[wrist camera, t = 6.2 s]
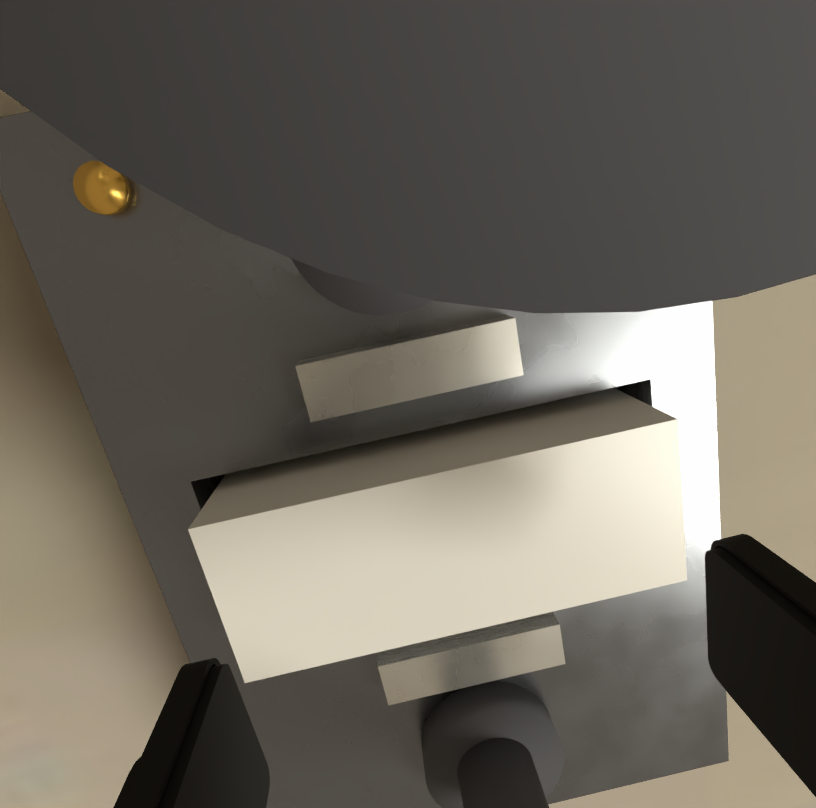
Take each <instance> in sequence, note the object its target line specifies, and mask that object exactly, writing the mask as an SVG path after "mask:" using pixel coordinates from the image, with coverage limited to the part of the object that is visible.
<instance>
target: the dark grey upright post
mask: <svg viewBox="0 0 816 808" xmlns="http://www.w3.org/2000/svg"><path fill="white" fill-rule="evenodd" d="M0 89H1V90H3V91H4V92H5V93H7V94H8V95H9V96H11V97H12V98H14V99H15V100H16V101H18V102H19V103H21V104H22V105H23V106H25V107H26V108H28V109H29V110H30V111H32V112H33V113H34V114H36V115H37V116H39V117H40V118H41V119H43V120H44V121H46V122H47V123H48V124H50V125H51V126H52V127H54V128H55V129H57V130H58V131H59V132H61V133H62V134H64V135H65V136H66V137H68V138H69V139H71V140H72V141H73V142H75V143H76V144H77V145H79V146H80V147H82V148H83V149H84V150H86V151H87V152H89V153H90V154H91V155H93V156H94V157H95V158H97V159H98V160H100V161H101V162H102V163H104V164H105V165H107V166H108V167H110V168H112V169H114V170H115V171H117V172H119V173H121V174H123V175H124V176H126V177H128V178H130V179H132V180H133V181H135V182H137V183H139V184H140V185H142V186H144V187H146V188H148V189H149V190H151V191H153V192H155V193H157V194H158V195H160V196H162V197H164V198H166V199H167V200H169V201H171V202H173V203H174V204H176V205H178V206H180V207H182V208H183V209H185V210H187V211H189V212H191V213H192V214H194V215H196V216H198V217H200V218H201V219H203V220H205V221H207V222H208V223H210V224H212V225H214V226H216V227H217V228H219V229H221V230H224V231H226V232H229V233H231V234H234V235H236V236H239V237H241V238H243V239H246V240H248V241H251V242H253V243H256V244H258V245H261V246H263V247H266V248H268V249H271V250H273V251H275V252H278V253H280V254H283V255H285V256H288V257H290V258H291V259H292V261H293V263H294V264H295V266H296V268H297V269H298V271H299V272H300V274H301V275H302V276H303V277H304V279H305V280H306V281H307V282H308V283H309V284H310V285H311V286H312V287H313V288H314V289H315V290H316V291H317V292H318V293H320V294H321V295H322V296H324V297H325V298H326V299H328V300H329V301H331V302H333V303H335V304H336V305H338V306H340V307H343V308H345V309H348V310H350V311H354V312H357V313H361V314H367V315H376V316H377V315H394V314H401V313H404V312H408V311H411V310H414V309H416V308H418V307H421V306H423V305H425V304H427V303H428V302H430V301H432V300H433V301H439V302H447V303H455V304H464V305H472V306H480V307H488V308H496V309H505V310H513V311H521V312H529V313H602V312H641V311H647V310H654V309H661V308H667V307H674V306H680V305H687V304H694V303H700V302H707V301H713V300H720V299H727V298H733V297H738V296H742V295H745V294H749V293H752V292H756V291H759V290H763V289H766V288H770V287H773V286H777V285H780V284H783V283H787V282H790V281H794V280H797V279H801V278H804V277H808V276H811V275H815V274H816V0H0Z"/></svg>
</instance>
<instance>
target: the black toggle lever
mask: <svg viewBox="0 0 816 808" xmlns="http://www.w3.org/2000/svg"><path fill="white" fill-rule="evenodd" d="M421 746H422V754H423V763H424V772H425V779H426V785H427V788H428V791H429V793H430V794H431V796H432V798H433V799H434V800H435V801H436V803H437V804H438V805H440V806H441V807H442V808H549V806H548V803H547V800H546V796H547V795H548V794H549V793H550V792H551V791H552V789H553V788H554V787H555V785H556V784H557V782H558V780H559V778H560V776H561V773H562V770H563V766H564V751H563V747H562V744H561V741H560V739H559V736H558V734H557V731H556V729H555V726H554V724H553V722H552V719H551V717H550V714H549V712H548V710H547V708H546V706H545V705H544V703H543V702H542V701H541V700H540V699H539V698H538V697H537V696H536V695H535V694H534V693H532V692H531V691H529V690H527V689H525V688H523V687H520V686H518V685H514V684H510V683H504V682H487V683H482V684H478V685H474V686H469V687H466V688H463V689H461V690H459V691H457V692H455V693H453V694H451V695H450V696H448V697H447V698H445V699H444V700H443V701H442V702H441V703H440V704H438V705H437V707H436V708H435V709H434V710H433V711H432V713H431V714H430V716H429V717H428V719H427V721H426V723H425V725H424V728H423V731H422V738H421Z"/></svg>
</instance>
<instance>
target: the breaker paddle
mask: <svg viewBox="0 0 816 808" xmlns="http://www.w3.org/2000/svg"><path fill="white" fill-rule="evenodd" d="M188 531H189V534H190V536H191V539H192V542H193V544H194V547H195V550H196V552H197V555H198V558H199V561H200V563H201V566H202V569H203V571H204V574H205V577H206V579H207V582H208V585H209V588H210V590H211V593H212V596H213V598H214V601H215V604H216V606H217V609H218V612H219V615H220V617H221V620H222V623H223V625H224V628H225V631H226V633H227V636H228V639H229V642H230V644H231V647H232V650H233V652H234V655H235V658H236V660H237V663H238V666H239V669H240V671H241V674H242V677H243V679H244V682H245V683H248V682H252V681H256V680H261V679H265V678H269V677H274V676H278V675H282V674H287V673H291V672H295V671H299V670H304V669H308V668H312V667H317V666H321V665H325V664H330V663H334V662H338V661H343V660H347V659H351V658H355V657H360V656H364V655H368V654H373V653H377V652H381V651H386V650H390V649H394V648H398V647H403V646H407V645H411V644H416V643H420V642H424V641H429V640H433V639H437V638H441V637H446V636H450V635H454V634H459V633H463V632H467V631H472V630H476V629H480V628H485V627H489V626H493V625H497V624H502V623H506V622H510V621H515V620H519V619H523V618H528V617H532V616H536V615H540V614H545V613H549V612H553V611H558V610H562V609H566V608H571V607H575V606H579V605H584V604H588V603H592V602H596V601H601V600H605V599H609V598H614V597H618V596H622V595H627V594H631V593H635V592H639V591H644V590H648V589H652V588H657V587H661V586H665V585H670V584H674V583H678V582H682V581H687V567H686V549H685V532H684V515H683V498H682V480H681V463H680V446H679V428H678V419H677V418H675V417H673V416H671V415H668V414H666V413H664V412H662V411H660V410H658V409H656V408H654V407H652V406H650V405H648V404H646V403H644V402H642V401H640V400H638V399H636V398H633V397H631V396H629V395H627V394H625V393H623V392H621V391H619V390H617V389H615V388H609V389H605V390H600V391H596V392H591V393H587V394H582V395H578V396H573V397H569V398H564V399H560V400H555V401H551V402H546V403H542V404H537V405H533V406H528V407H524V408H519V409H515V410H510V411H506V412H501V413H497V414H492V415H488V416H483V417H479V418H474V419H470V420H465V421H461V422H456V423H452V424H447V425H443V426H438V427H434V428H429V429H425V430H420V431H416V432H412V433H407V434H403V435H398V436H394V437H389V438H385V439H380V440H376V441H371V442H367V443H362V444H358V445H353V446H349V447H344V448H340V449H335V450H331V451H326V452H322V453H317V454H313V455H308V456H304V457H299V458H295V459H290V460H286V461H281V462H277V463H272V464H268V465H263V466H259V467H254V468H250V469H245V470H241V471H236V472H232V473H227V474H225V476H224V477H223V479H222V480H221V482H220V483H219V485H218V486H217V487H216V489H215V490H214V492H213V493H212V495H211V496H210V498H209V499H208V501H207V502H206V504H205V505H204V507H203V508H202V509H201V511H200V512H199V514H198V515H197V517H196V518H195V520H194V521H193V523H192V524H191V526H190V527H189V528H188Z"/></svg>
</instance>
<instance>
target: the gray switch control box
mask: <svg viewBox="0 0 816 808" xmlns="http://www.w3.org/2000/svg"><path fill="white" fill-rule="evenodd" d="M0 192H1V194H2V197H3V199H4V202H5V204H6V207H7V209H8V212H9V214H10V217H11V219H12V221H13V224H14V226H15V229H16V231H17V234H18V236H19V239H20V241H21V244H22V246H23V249H24V251H25V254H26V256H27V259H28V261H29V264H30V266H31V269H32V271H33V274H34V276H35V279H36V281H37V284H38V286H39V289H40V291H41V293H42V296H43V298H44V301H45V303H46V306H47V308H48V311H49V313H50V316H51V318H52V321H53V323H54V326H55V328H56V331H57V333H58V336H59V338H60V341H61V343H62V346H63V348H64V351H65V353H66V356H67V358H68V361H69V363H70V365H71V368H72V370H73V373H74V375H75V378H76V380H77V383H78V385H79V388H80V390H81V393H82V395H83V398H84V400H85V403H86V405H87V408H88V410H89V413H90V415H91V418H92V420H93V423H94V425H95V428H96V430H97V433H98V435H99V438H100V440H101V442H102V445H103V447H104V450H105V452H106V455H107V457H108V460H109V462H110V465H111V467H112V470H113V472H114V475H115V477H116V480H117V482H118V485H119V487H120V490H121V492H122V495H123V497H124V500H125V502H126V505H127V507H128V510H129V512H130V514H131V517H132V519H133V522H134V524H135V527H136V529H137V532H138V534H139V537H140V539H141V542H142V544H143V547H144V549H145V552H146V554H147V557H148V559H149V562H150V564H151V567H152V569H153V572H154V574H155V577H156V579H157V582H158V584H159V586H160V589H161V591H162V594H163V596H164V599H165V601H166V604H167V606H168V609H169V611H170V614H171V616H172V619H173V621H174V624H175V626H176V629H177V631H178V634H179V636H180V639H181V641H182V644H183V646H184V649H185V651H186V654H187V656H188V658H189V661H190V663H194V662H198V661H202V660H206V659H211V658H216V659H218V660H219V662H220V664H228V665H229V667H230V669H231V671H232V674H233V676H234V679H235V681H236V684H237V686H238V689H239V692H240V694H241V697H242V699H243V702H244V704H245V707H246V710H247V712H248V715H249V717H250V720H251V722H252V725H253V728H254V730H255V733H256V735H257V738H258V740H259V743H260V746H261V748H262V751H263V753H264V756H265V758H266V761H267V764H268V767H269V773H270V787H269V794H268V800H267V806H266V808H442V807H441V806H440V805H438V804H437V803H436V801H435V800H434V799H433V798H432V796H431V794H430V793H429V791H428V788H427V785H426V779H425V772H424V763H423V754H422V746H421V738H422V731H423V728H424V725H425V723H426V721H427V719H428V717H429V716H430V714H431V713H432V711H433V710H434V709H435V708H436V707H437V705H438V704H440V703H441V702H442V701H443V700H444V699H445V698H447V697H448V696H450V695H451V694H453V693H455V692H457V691H459V690H461V689H463V688H466V687H469V686H474V685H478V684H482V683H487V682H504V683H510V684H514V685H518V686H520V687H523V688H525V689H527V690H529V691H531V692H532V693H534V694H535V695H536V696H537V697H538V698H539V699H540V700H541V701H542V702H543V703H544V705H545V706H546V708H547V710H548V712H549V714H550V717H551V719H552V722H553V724H554V726H555V729H556V731H557V734H558V736H559V739H560V741H561V744H562V747H563V751H564V766H563V770H562V773H561V776H560V778H559V780H558V782H557V784H556V785H555V787H554V788H553V789H552V791H551V792H550V793H549V794H548V795H547V796H546V800H547V803H548V804H552V803H556V802H560V801H564V800H568V799H572V798H576V797H581V796H585V795H589V794H593V793H597V792H601V791H605V790H610V789H614V788H618V787H622V786H626V785H630V784H634V783H639V782H643V781H647V780H651V779H655V778H659V777H664V776H668V775H672V774H676V773H680V772H684V771H688V770H693V769H697V768H701V767H705V766H709V765H713V764H717V763H722V762H726V761H729V759H728V730H727V702H726V690H725V689H724V688H723V686H722V685H721V684H720V683H719V682H718V680H717V679H716V677H715V676H714V674H713V672H712V670H711V668H710V665H709V661H708V643H707V613H706V582H705V553H706V551H708V550H711V544H712V543H713V541H715V540H719V539H721V531H720V503H719V474H718V446H717V417H716V389H715V360H714V332H713V303H712V301H707V302H700V303H694V304H687V305H680V306H674V307H667V308H661V309H654V310H647V311H641V312H602V313H529V312H521V311H513V310H505V309H496V308H488V307H480V306H472V305H464V304H455V303H447V302H439V301H433V300H432V301H430V302H428V303H427V304H425V305H423V306H421V307H418V308H416V309H414V310H411V311H408V312H404V313H401V314H394V315H377V316H376V315H367V314H361V313H357V312H354V311H350V310H348V309H345V308H343V307H340V306H338V305H336V304H335V303H333V302H331V301H329V300H328V299H326V298H325V297H324V296H322V295H321V294H320V293H318V292H317V291H316V290H315V289H314V288H313V287H312V286H311V285H310V284H309V283H308V282H307V281H306V280H305V279H304V277H303V276H302V275H301V274H300V272H299V271H298V269H297V268H296V266H295V264H294V263H293V261H292V259H291V258H290V257H288V256H285V255H283V254H280V253H278V252H275V251H273V250H271V249H268V248H266V247H263V246H261V245H258V244H256V243H253V242H251V241H248V240H246V239H243V238H241V237H239V236H236V235H234V234H231V233H229V232H226V231H224V230H221V229H219V228H217V227H216V226H214V225H212V224H210V223H208V222H207V221H205V220H203V219H201V218H200V217H198V216H196V215H194V214H192V213H191V212H189V211H187V210H185V209H183V208H182V207H180V206H178V205H176V204H174V203H173V202H171V201H169V200H167V199H166V198H164V197H162V196H160V195H158V194H157V193H155V192H153V191H151V190H149V189H148V188H146V187H144V186H142V185H140V184H139V183H137V182H135V181H133V180H132V179H130V178H128V177H126V176H124V175H123V174H121V173H119V172H117V171H115V170H114V169H112V168H110V167H108V166H107V165H105V164H104V163H102V162H101V161H100V160H98V159H97V158H95V157H94V156H93V155H91V154H90V153H89V152H87V151H86V150H84V149H83V148H82V147H80V146H79V145H77V144H76V143H75V142H73V141H72V140H71V139H69V138H68V137H66V136H65V135H64V134H62V133H61V132H59V131H58V130H57V129H55V128H54V127H52V126H51V125H50V124H48V123H47V122H46V121H44V120H43V119H41V118H40V117H39V116H37V115H36V114H34V113H33V112H32V111H30V112H25V113H20V114H15V115H10V116H5V117H0ZM609 388H615V389H617V390H619V391H621V392H623V393H625V394H627V395H629V396H631V397H633V398H636V399H638V400H640V401H642V402H644V403H646V404H648V405H650V406H652V407H654V408H656V409H658V410H660V411H662V412H664V413H666V414H668V415H671V416H673V417H675V418H677V419H678V428H679V446H680V463H681V480H682V498H683V515H684V532H685V549H686V567H687V581H682V582H678V583H674V584H670V585H665V586H661V587H657V588H652V589H648V590H644V591H639V592H635V593H631V594H627V595H622V596H618V597H614V598H609V599H605V600H601V601H596V602H592V603H588V604H584V605H579V606H575V607H571V608H566V609H562V610H558V611H553V612H549V613H545V614H540V615H536V616H532V617H528V618H523V619H519V620H515V621H510V622H506V623H502V624H497V625H493V626H489V627H485V628H480V629H476V630H472V631H467V632H463V633H459V634H454V635H450V636H446V637H441V638H437V639H433V640H429V641H424V642H420V643H416V644H411V645H407V646H403V647H398V648H394V649H390V650H386V651H381V652H377V653H373V654H368V655H364V656H360V657H355V658H351V659H347V660H343V661H338V662H334V663H330V664H325V665H321V666H317V667H312V668H308V669H304V670H299V671H295V672H291V673H287V674H282V675H278V676H274V677H269V678H265V679H261V680H256V681H252V682H248V683H245V682H244V679H243V677H242V674H241V671H240V669H239V666H238V663H237V660H236V658H235V655H234V652H233V650H232V647H231V644H230V642H229V639H228V636H227V633H226V631H225V628H224V625H223V623H222V620H221V617H220V615H219V612H218V609H217V606H216V604H215V601H214V598H213V596H212V593H211V590H210V588H209V585H208V582H207V579H206V577H205V574H204V571H203V569H202V566H201V563H200V561H199V558H198V555H197V552H196V550H195V547H194V544H193V542H192V539H191V536H190V534H189V531H188V528H189V527H190V526H191V524H192V523H193V521H194V520H195V518H196V517H197V515H198V514H199V512H200V511H201V509H202V508H203V507H204V505H205V504H206V502H207V501H208V499H209V498H210V496H211V495H212V493H213V492H214V490H215V489H216V487H217V486H218V485H219V483H220V482H221V480H222V479H223V477H224V476H225V474H227V473H232V472H236V471H241V470H245V469H250V468H254V467H259V466H263V465H268V464H272V463H277V462H281V461H286V460H290V459H295V458H299V457H304V456H308V455H313V454H317V453H322V452H326V451H331V450H335V449H340V448H344V447H349V446H353V445H358V444H362V443H367V442H371V441H376V440H380V439H385V438H389V437H394V436H398V435H403V434H407V433H412V432H416V431H420V430H425V429H429V428H434V427H438V426H443V425H447V424H452V423H456V422H461V421H465V420H470V419H474V418H479V417H483V416H488V415H492V414H497V413H501V412H506V411H510V410H515V409H519V408H524V407H528V406H533V405H537V404H542V403H546V402H551V401H555V400H560V399H564V398H569V397H573V396H578V395H582V394H587V393H591V392H596V391H600V390H605V389H609Z"/></svg>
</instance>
